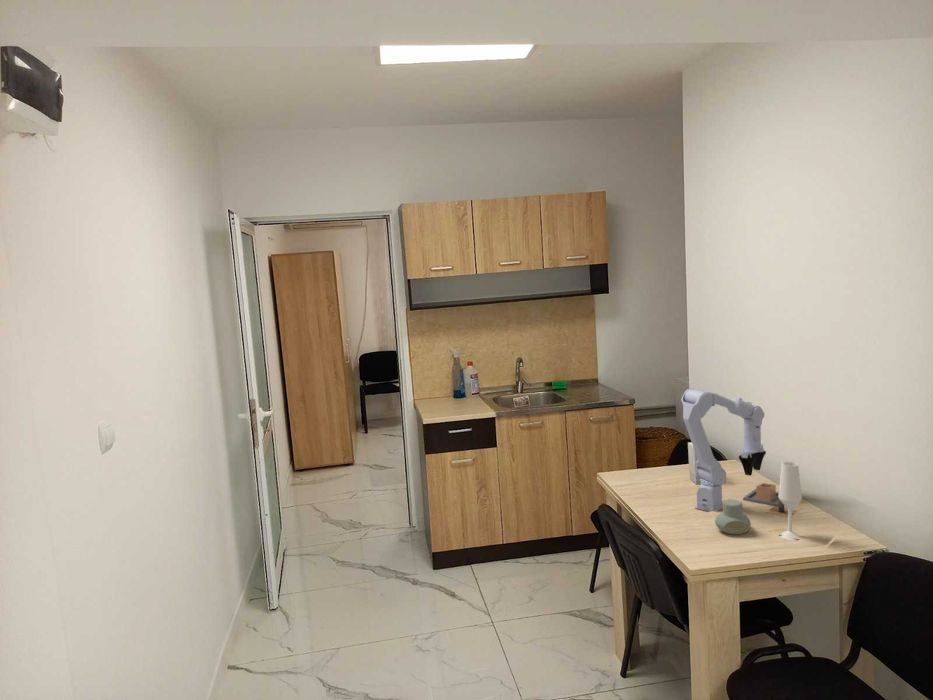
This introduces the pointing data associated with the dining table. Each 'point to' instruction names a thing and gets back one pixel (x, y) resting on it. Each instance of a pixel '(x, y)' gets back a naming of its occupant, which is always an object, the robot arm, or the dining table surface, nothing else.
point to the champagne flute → (790, 494)
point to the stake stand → (780, 510)
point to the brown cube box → (766, 492)
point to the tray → (752, 498)
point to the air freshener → (732, 518)
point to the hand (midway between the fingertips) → (752, 472)
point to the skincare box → (693, 464)
